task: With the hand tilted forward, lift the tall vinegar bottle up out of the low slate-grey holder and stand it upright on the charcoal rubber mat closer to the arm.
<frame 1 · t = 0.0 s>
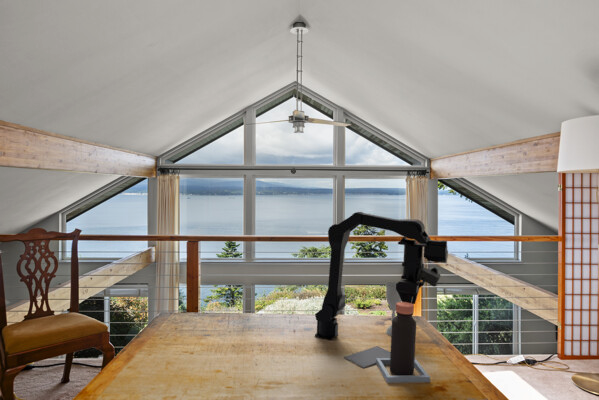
hand: (410, 307, 135), 15 cm above the table, tool pointing down, fingers open, 9 cm apart
vinegar: (401, 372, 122), resting in bottle holder
chalice: (392, 333, 152), on the table
mat: (370, 357, 131), on the table
bottle holder: (401, 372, 122), on the table
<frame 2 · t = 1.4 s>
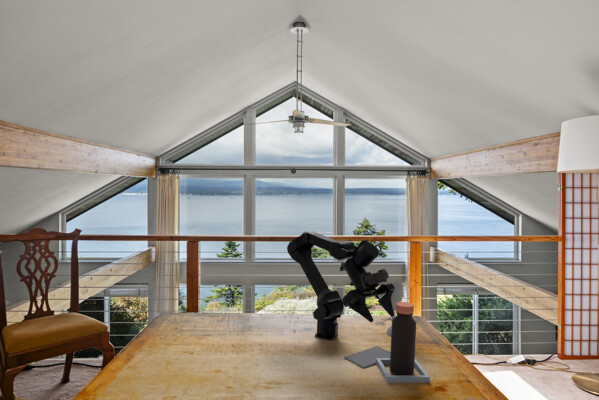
hand: (382, 318, 127), 13 cm above the table, tool tilted 45°, fingers open, 9 cm apart
nothing on the table moved.
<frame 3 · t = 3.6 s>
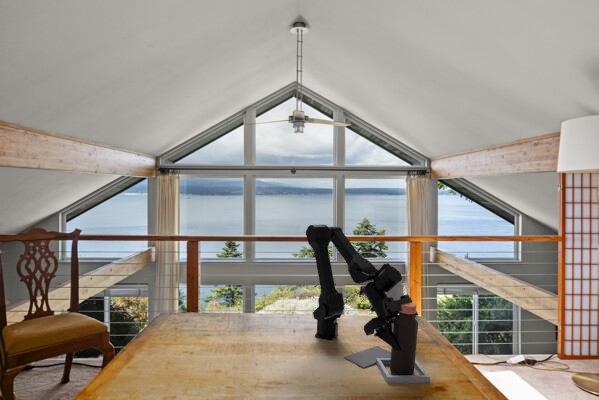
hand: (406, 348, 120), 8 cm above the table, tool tilted 45°, fingers open, 6 cm apart
vinegar: (401, 372, 122), resting in bottle holder, touching gripper
everything else where it was.
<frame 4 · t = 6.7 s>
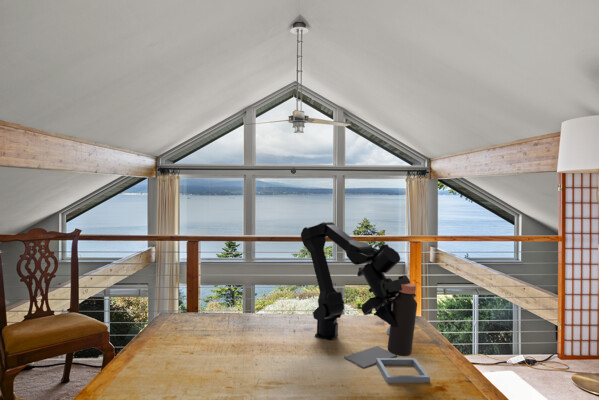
hand: (404, 328, 121), 13 cm above the table, tool tilted 45°, fingers closed on vinegar, 4 cm apart
vinegar: (399, 352, 123), point 5 cm above the table, touching gripper
everything else where it was.
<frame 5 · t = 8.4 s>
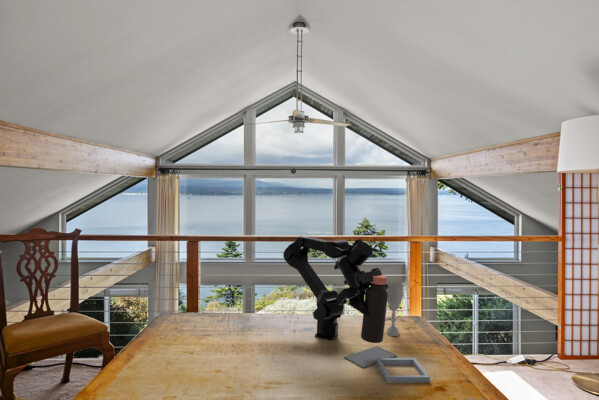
hand: (375, 316, 130), 13 cm above the table, tool tilted 45°, fingers closed on vinegar, 4 cm apart
vinegar: (371, 339, 131), point 5 cm above the table, touching gripper
everything else where it was.
when the fingers open (9 cm above the table, at t = 9.5 s): vinegar drops 1 cm, resting on mat.
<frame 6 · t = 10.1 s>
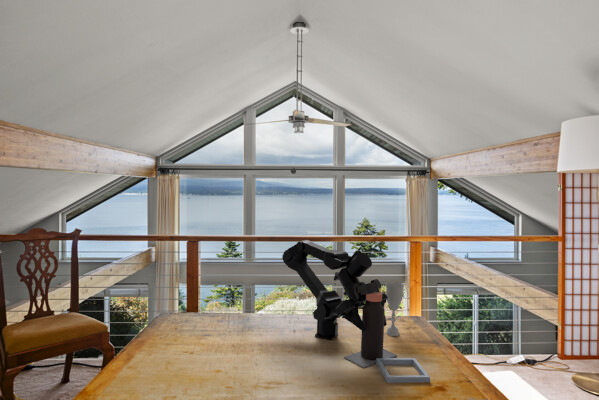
hand: (375, 328, 130), 10 cm above the table, tool tilted 45°, fingers open, 9 cm apart
vinegar: (371, 356, 131), resting on mat
everything else where it was.
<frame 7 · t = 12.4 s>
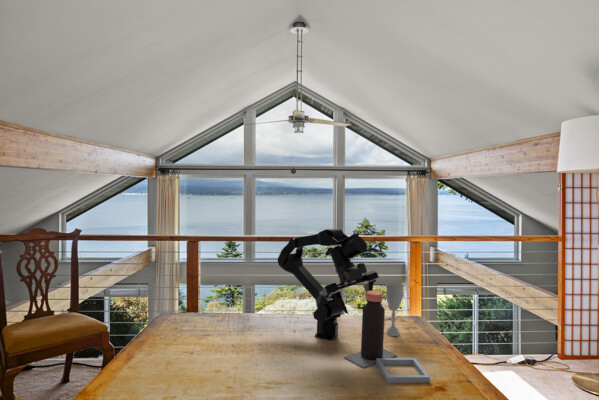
hand: (359, 308, 137), 13 cm above the table, tool tilted 30°, fingers open, 9 cm apart
nothing on the table moved.
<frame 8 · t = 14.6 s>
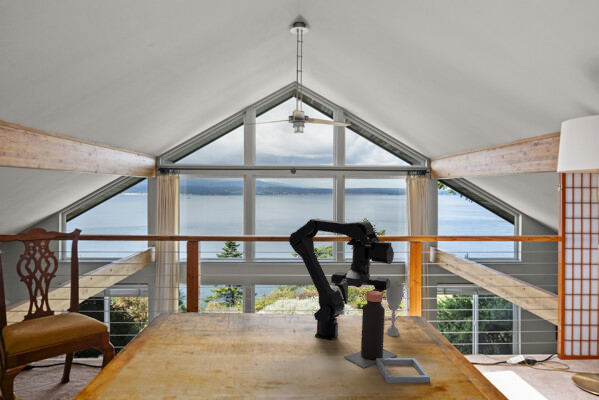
hand: (359, 306, 140), 13 cm above the table, tool pointing down, fingers open, 9 cm apart
nothing on the table moved.
at the end: vinegar inside the target area on the mat (0.2 cm from its centre), point 0.2 cm above the mat's base; vinegar tilted 0°; the gripper is holding nothing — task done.
